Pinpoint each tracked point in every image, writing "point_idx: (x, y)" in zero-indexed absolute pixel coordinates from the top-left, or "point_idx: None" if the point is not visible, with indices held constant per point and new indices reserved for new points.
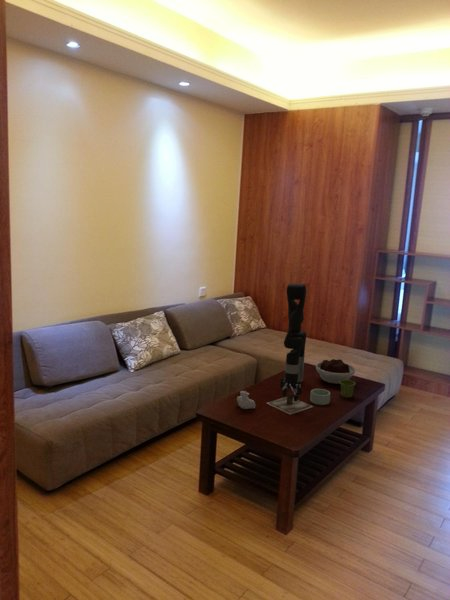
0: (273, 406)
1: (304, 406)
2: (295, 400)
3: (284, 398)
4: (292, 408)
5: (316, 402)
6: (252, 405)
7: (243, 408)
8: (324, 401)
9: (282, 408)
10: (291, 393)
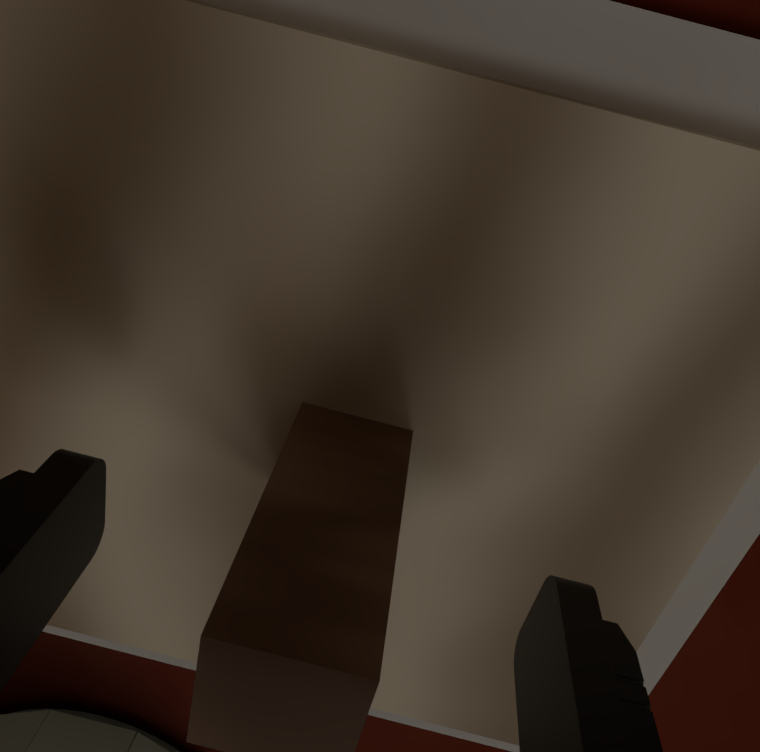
0: (679, 31)
1: None
2: (29, 476)
3: None
4: (90, 223)
5: (19, 741)
6: None
7: None
8: None
9: (315, 31)
10: (247, 728)
